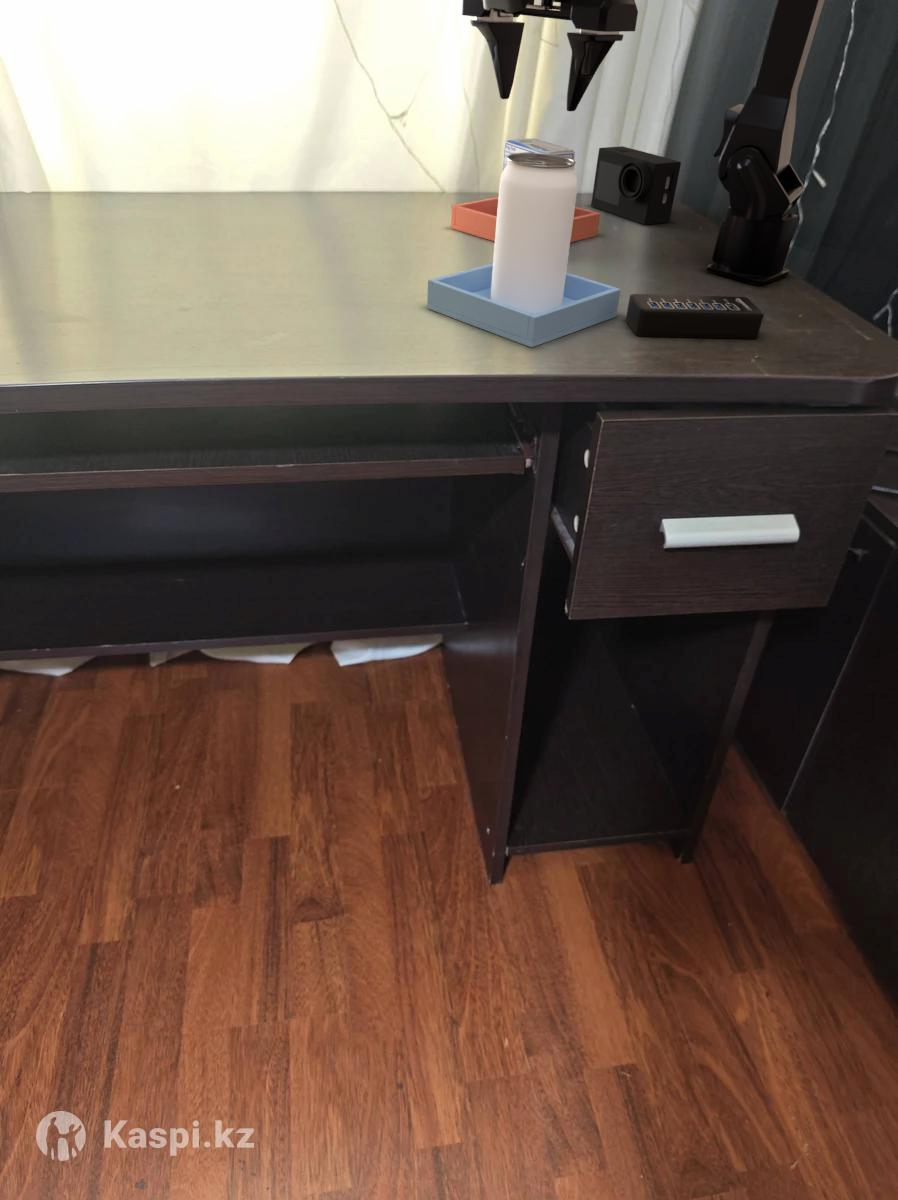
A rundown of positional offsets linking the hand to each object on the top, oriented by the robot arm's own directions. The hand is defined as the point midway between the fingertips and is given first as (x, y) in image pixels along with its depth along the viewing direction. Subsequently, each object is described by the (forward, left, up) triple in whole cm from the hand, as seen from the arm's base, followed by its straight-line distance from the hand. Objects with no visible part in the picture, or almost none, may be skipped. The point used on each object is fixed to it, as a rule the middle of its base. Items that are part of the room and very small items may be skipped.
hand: (536, 104), depth 92 cm
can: (-18, +22, -13) cm, 31 cm away
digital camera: (-2, -18, -13) cm, 22 cm away
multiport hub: (-30, +13, -13) cm, 35 cm away
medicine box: (0, -1, -13) cm, 13 cm away
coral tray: (0, 0, -13) cm, 13 cm away
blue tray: (-18, +22, -13) cm, 31 cm away
